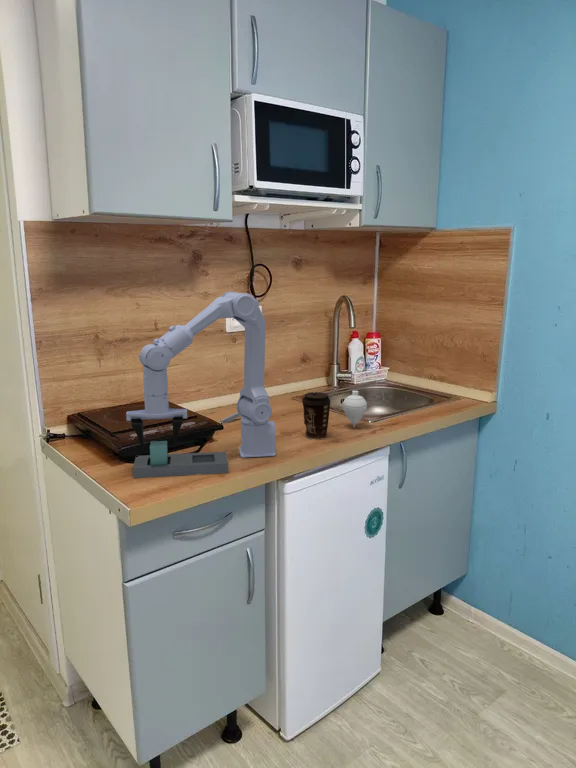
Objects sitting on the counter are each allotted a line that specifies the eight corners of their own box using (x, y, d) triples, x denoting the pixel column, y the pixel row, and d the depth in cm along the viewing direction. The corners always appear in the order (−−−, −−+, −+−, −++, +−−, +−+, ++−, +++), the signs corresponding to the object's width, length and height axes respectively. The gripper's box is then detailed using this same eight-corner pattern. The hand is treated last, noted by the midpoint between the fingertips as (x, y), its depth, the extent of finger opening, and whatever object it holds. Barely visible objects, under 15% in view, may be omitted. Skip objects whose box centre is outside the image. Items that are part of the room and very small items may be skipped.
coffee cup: (307, 430, 175) (308, 390, 173) (333, 433, 172) (334, 392, 170) (297, 438, 167) (298, 396, 165) (324, 442, 164) (325, 399, 162)
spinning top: (338, 429, 177) (339, 392, 175) (346, 423, 184) (348, 387, 181) (361, 432, 174) (363, 394, 171) (369, 426, 181) (370, 389, 178)
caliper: (263, 413, 196) (263, 395, 195) (265, 413, 195) (265, 396, 194) (217, 425, 182) (217, 406, 180) (219, 425, 181) (219, 406, 180)
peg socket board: (226, 460, 149) (226, 451, 148) (228, 472, 140) (228, 463, 140) (136, 465, 145) (136, 455, 145) (133, 478, 136) (132, 468, 136)
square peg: (168, 466, 144) (167, 440, 143) (167, 472, 140) (166, 445, 139) (152, 467, 143) (150, 441, 142) (151, 473, 140) (149, 446, 138)
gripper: (186, 389, 143) (188, 440, 145) (127, 391, 140) (130, 443, 143) (186, 395, 136) (188, 449, 139) (124, 397, 133) (127, 452, 136)
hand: (158, 446), depth 140 cm, fingers open, 7 cm apart
